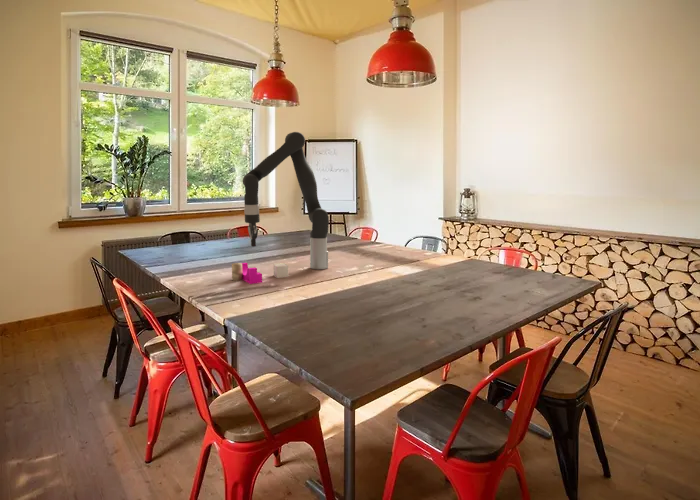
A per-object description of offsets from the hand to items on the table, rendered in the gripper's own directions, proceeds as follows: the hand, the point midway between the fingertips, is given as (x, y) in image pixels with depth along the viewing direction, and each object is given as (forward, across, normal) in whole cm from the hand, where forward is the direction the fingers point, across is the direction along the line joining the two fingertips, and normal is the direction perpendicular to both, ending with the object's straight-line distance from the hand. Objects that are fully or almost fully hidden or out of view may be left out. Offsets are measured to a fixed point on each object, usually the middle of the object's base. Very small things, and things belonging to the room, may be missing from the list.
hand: (253, 246), depth 240 cm
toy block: (+14, -15, +6) cm, 22 cm away
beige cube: (+14, -13, -10) cm, 22 cm away
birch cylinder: (+14, -13, +12) cm, 22 cm away
